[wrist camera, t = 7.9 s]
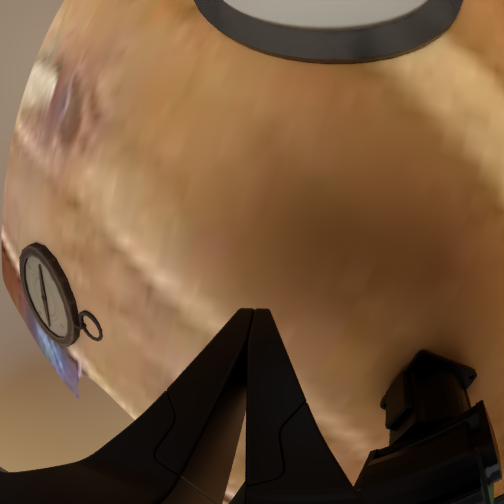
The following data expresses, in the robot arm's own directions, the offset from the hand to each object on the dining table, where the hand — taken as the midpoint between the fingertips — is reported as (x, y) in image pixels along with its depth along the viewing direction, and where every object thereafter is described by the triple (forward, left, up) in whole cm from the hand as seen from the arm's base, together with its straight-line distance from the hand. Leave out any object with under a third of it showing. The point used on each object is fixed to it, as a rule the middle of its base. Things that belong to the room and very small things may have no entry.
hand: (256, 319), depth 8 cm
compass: (+31, +23, -13) cm, 41 cm away
